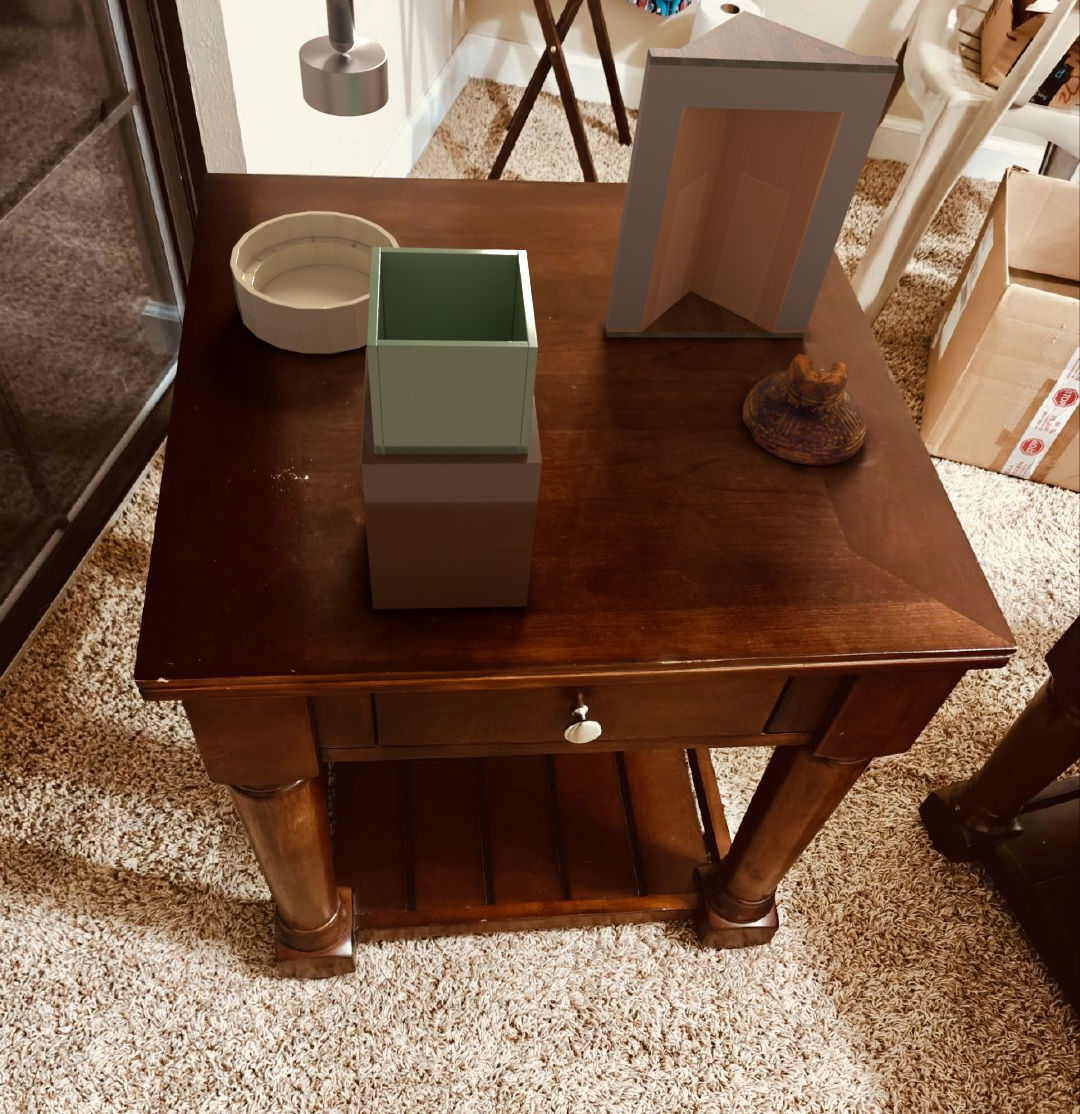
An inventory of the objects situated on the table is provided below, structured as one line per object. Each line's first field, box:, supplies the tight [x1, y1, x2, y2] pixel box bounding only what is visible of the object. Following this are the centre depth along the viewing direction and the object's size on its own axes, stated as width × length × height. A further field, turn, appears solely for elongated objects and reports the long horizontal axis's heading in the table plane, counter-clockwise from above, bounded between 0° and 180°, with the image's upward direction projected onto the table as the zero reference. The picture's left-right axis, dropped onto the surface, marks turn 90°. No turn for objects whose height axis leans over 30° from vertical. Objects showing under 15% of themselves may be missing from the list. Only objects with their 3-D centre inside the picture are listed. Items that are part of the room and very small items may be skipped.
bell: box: [742, 353, 868, 466], centre depth 92 cm, size 12×12×7 cm
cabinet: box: [603, 10, 899, 339], centre depth 95 cm, size 21×10×28 cm, turn 95°
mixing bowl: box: [229, 210, 401, 355], centre depth 98 cm, size 16×16×6 cm
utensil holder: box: [360, 247, 543, 610], centre depth 72 cm, size 12×12×25 cm
